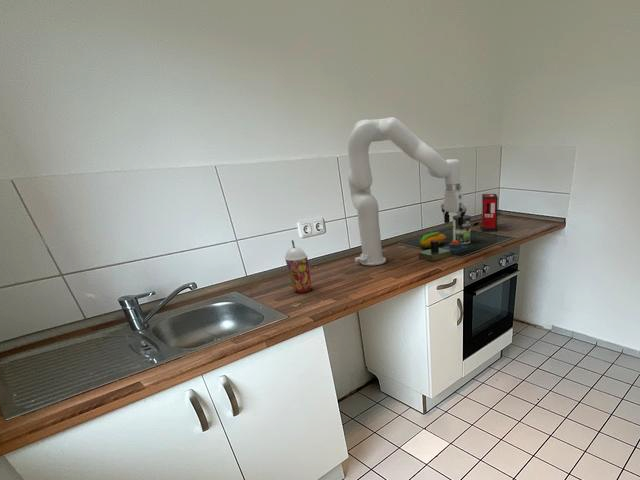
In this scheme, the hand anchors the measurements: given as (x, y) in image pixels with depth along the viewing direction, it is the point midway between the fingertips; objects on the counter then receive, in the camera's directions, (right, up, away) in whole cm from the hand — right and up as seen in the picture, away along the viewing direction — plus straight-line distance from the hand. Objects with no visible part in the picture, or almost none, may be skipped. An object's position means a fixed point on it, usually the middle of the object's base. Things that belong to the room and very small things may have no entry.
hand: (453, 224), depth 196 cm
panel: (-10, -17, -1) cm, 20 cm away
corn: (-11, -6, +19) cm, 22 cm away
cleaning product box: (+24, +16, +55) cm, 62 cm away
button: (+1, -9, +6) cm, 11 cm away
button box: (+1, -12, +8) cm, 14 cm away
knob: (-10, -15, -3) cm, 18 cm away
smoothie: (-62, -41, -39) cm, 84 cm away
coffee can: (+5, -2, +25) cm, 26 cm away
